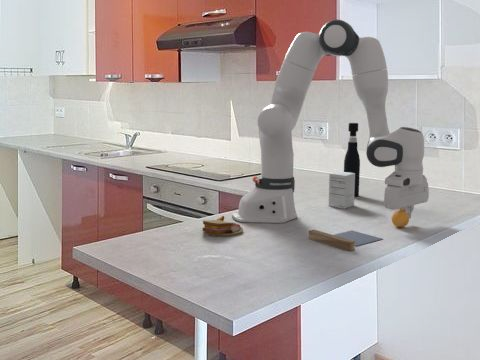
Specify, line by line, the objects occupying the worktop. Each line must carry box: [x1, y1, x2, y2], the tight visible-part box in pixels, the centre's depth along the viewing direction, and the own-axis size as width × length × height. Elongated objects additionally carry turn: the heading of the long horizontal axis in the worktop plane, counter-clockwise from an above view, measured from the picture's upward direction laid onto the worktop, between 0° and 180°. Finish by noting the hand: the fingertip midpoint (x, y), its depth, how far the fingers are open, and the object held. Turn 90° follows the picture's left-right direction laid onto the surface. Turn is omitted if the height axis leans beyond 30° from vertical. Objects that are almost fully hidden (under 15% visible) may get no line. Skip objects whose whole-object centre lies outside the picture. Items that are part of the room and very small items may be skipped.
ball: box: [391, 209, 410, 228], centre depth 179 cm, size 6×6×6 cm
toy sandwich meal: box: [202, 215, 244, 238], centre depth 173 cm, size 12×14×5 cm
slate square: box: [333, 230, 383, 247], centre depth 167 cm, size 12×12×1 cm
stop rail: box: [308, 229, 356, 252], centre depth 160 cm, size 2×16×2 cm, turn 38°
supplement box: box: [328, 170, 355, 209], centre depth 210 cm, size 7×7×13 cm
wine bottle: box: [343, 122, 361, 198], centre depth 227 cm, size 6×6×30 cm
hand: (406, 218), depth 183 cm, fingers closed
